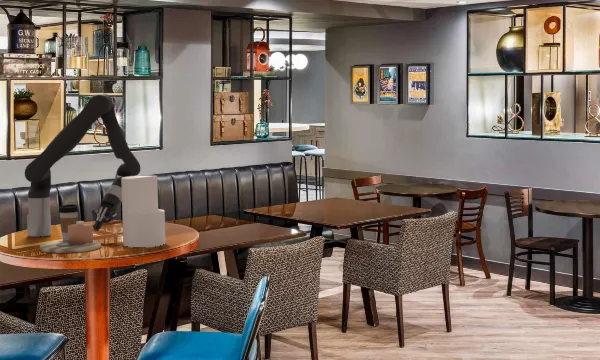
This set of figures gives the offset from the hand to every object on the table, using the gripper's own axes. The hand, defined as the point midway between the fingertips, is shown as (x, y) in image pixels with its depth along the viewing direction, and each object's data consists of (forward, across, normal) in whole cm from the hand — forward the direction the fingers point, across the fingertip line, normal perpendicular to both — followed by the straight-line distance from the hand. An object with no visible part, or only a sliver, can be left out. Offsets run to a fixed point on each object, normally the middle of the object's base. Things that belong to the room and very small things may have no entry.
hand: (95, 229), depth 353 cm
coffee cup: (+4, -15, +4) cm, 16 cm away
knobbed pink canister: (+9, 0, -4) cm, 10 cm away
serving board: (+15, 0, -7) cm, 16 cm away
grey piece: (+1, +22, +7) cm, 23 cm away
